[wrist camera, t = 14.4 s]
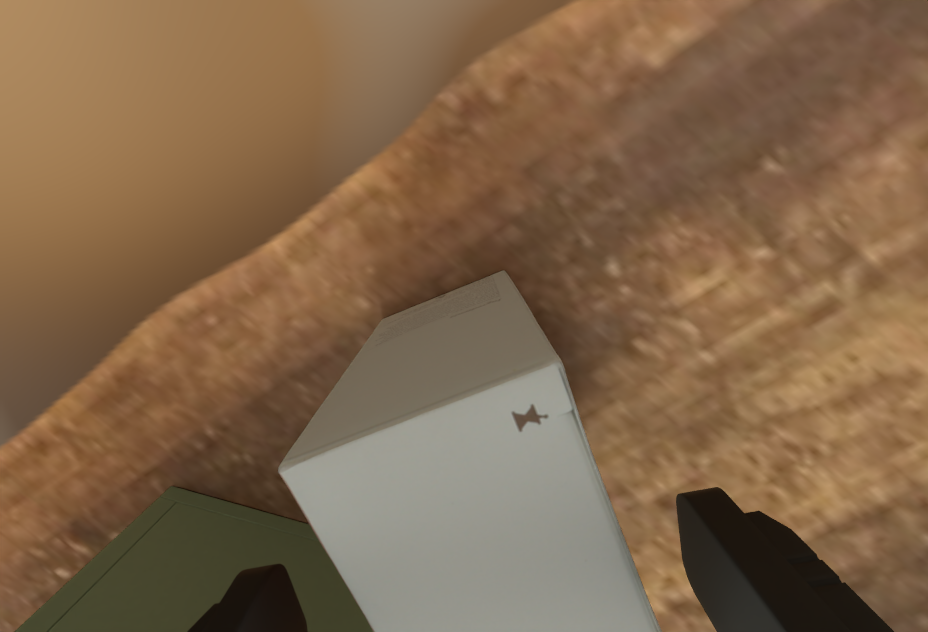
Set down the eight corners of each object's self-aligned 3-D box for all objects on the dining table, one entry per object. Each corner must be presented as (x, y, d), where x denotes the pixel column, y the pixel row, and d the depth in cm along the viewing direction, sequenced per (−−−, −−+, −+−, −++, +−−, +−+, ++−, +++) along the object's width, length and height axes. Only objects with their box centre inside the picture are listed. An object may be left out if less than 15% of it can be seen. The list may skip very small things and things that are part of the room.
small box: (380, 316, 18) (261, 461, 8) (506, 266, 17) (561, 349, 7) (454, 475, 20) (438, 764, 9) (571, 433, 19) (689, 694, 9)
